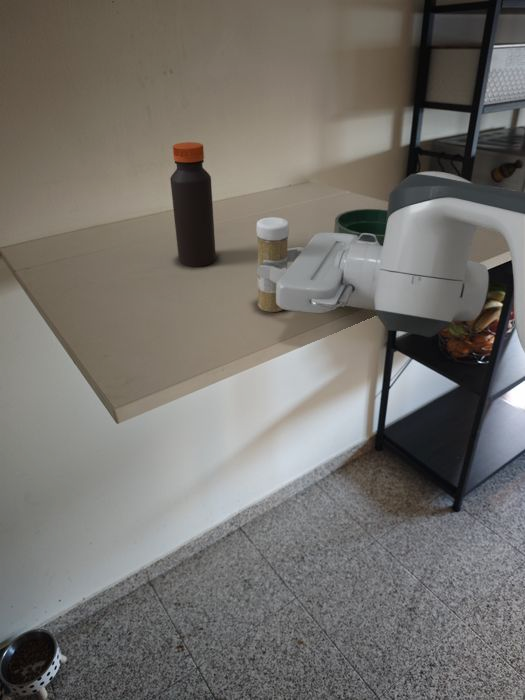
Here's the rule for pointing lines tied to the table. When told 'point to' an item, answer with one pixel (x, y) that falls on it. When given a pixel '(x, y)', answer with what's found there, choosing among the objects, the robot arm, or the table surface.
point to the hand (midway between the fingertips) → (266, 261)
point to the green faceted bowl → (363, 223)
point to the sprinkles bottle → (271, 257)
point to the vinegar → (192, 206)
